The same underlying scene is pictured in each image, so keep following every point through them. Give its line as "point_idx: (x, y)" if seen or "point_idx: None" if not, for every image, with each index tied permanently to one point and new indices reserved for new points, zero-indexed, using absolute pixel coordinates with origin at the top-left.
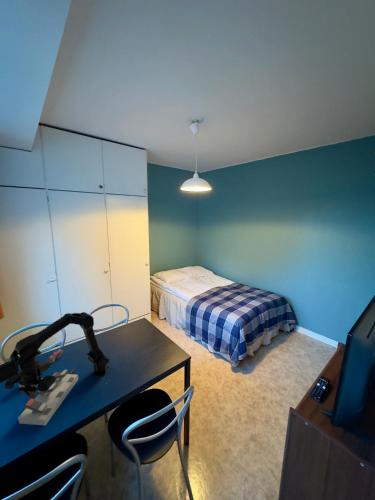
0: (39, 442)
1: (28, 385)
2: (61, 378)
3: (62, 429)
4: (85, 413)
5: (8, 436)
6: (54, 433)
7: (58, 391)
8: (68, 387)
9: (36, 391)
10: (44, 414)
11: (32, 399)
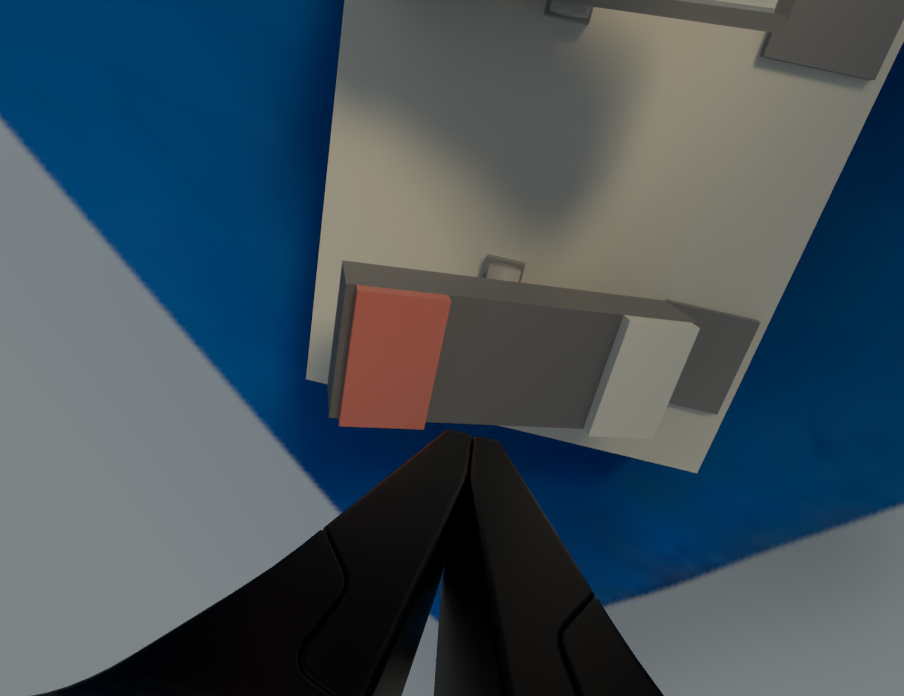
0: (676, 568)
1: None
2: None
3: (899, 500)
4: None
5: (325, 458)
6: (811, 521)
7: None
8: None
9: (562, 568)
10: (669, 404)
11: (398, 309)
